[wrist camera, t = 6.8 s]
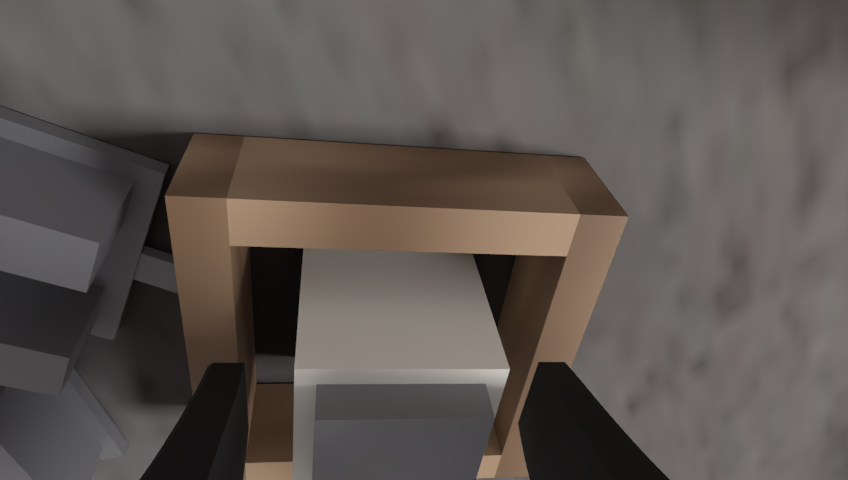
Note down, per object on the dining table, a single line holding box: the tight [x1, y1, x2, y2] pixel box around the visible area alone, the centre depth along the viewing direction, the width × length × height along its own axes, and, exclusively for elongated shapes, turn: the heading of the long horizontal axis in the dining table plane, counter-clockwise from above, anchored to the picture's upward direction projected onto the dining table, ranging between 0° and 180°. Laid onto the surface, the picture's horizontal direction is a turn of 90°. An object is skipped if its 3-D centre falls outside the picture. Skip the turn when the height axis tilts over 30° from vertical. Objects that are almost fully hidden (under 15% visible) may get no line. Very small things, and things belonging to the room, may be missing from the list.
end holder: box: [165, 133, 629, 480], centre depth 14 cm, size 8×8×2 cm
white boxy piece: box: [293, 248, 510, 480], centre depth 13 cm, size 4×4×5 cm
